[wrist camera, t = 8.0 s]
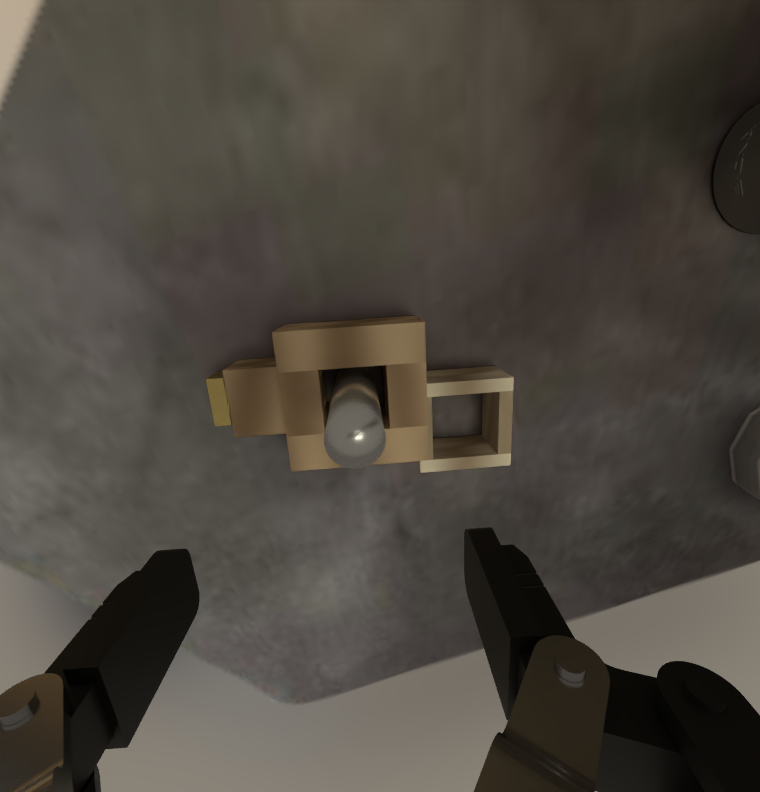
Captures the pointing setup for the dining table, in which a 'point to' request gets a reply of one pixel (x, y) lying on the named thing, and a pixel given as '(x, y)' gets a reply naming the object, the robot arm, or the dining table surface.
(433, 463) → the frame
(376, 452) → the rod
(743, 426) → the can
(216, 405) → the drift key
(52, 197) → the dining table surface
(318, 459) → the socket block
